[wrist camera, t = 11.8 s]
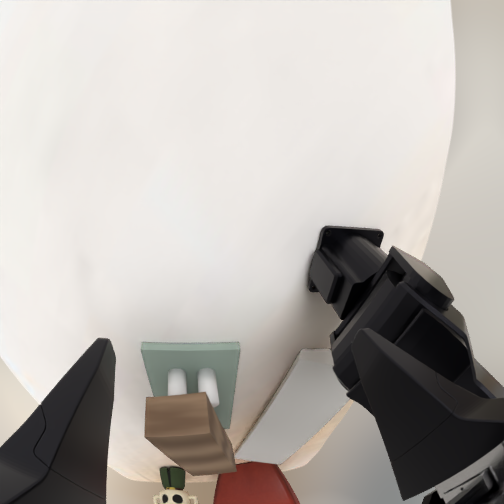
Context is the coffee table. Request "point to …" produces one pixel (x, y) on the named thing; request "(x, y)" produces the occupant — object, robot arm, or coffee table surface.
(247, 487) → the plant pot
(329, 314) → the coffee table surface
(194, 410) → the walnut shelf board
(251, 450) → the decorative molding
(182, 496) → the character mug
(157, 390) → the peg base
